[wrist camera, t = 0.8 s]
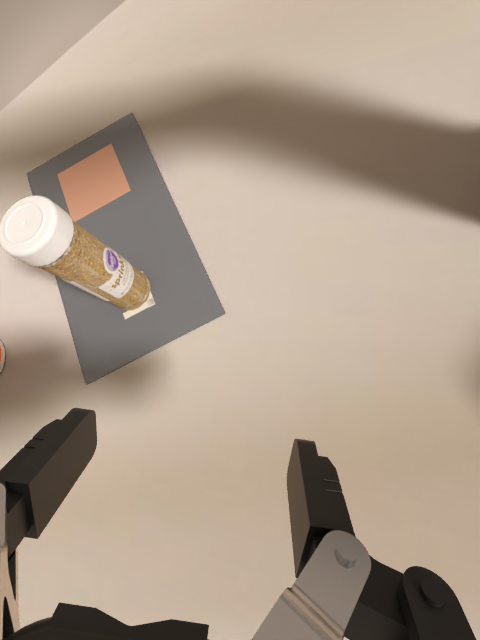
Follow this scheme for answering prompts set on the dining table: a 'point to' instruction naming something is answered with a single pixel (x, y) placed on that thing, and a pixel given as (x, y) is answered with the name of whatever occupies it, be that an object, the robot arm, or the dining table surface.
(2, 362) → the pill bottle
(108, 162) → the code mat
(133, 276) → the sprinkles bottle
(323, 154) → the dining table surface
